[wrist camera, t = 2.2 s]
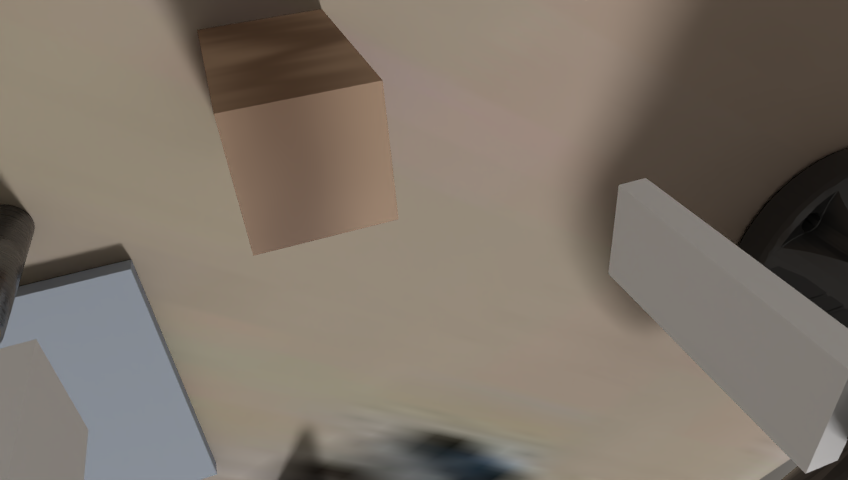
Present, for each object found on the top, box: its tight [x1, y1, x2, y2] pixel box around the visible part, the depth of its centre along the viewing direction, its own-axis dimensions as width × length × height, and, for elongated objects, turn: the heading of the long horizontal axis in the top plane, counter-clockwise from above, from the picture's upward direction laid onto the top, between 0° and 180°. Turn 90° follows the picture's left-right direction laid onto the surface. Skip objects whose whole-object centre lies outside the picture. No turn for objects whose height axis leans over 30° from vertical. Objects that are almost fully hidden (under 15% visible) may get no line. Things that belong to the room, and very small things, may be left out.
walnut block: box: [197, 9, 398, 256], centre depth 24 cm, size 5×5×9 cm
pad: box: [0, 260, 217, 480], centre depth 32 cm, size 12×15×1 cm
